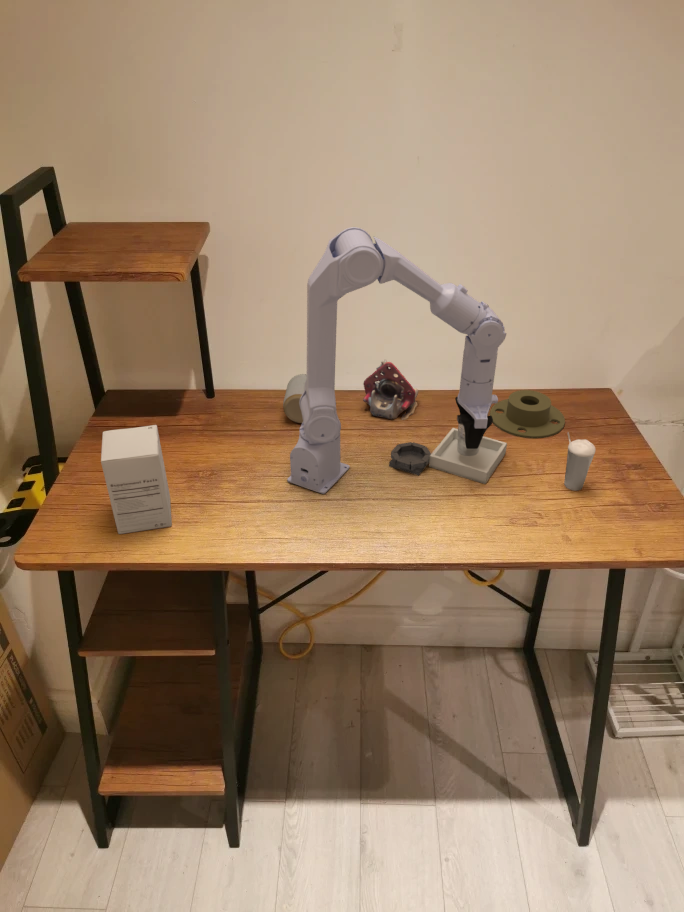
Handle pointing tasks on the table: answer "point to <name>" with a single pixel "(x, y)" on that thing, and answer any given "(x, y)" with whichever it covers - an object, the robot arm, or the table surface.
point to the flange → (527, 415)
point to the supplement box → (136, 479)
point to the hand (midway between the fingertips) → (469, 440)
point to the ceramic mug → (294, 398)
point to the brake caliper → (389, 392)
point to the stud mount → (410, 457)
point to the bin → (468, 458)
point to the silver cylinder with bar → (463, 441)
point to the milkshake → (578, 463)
